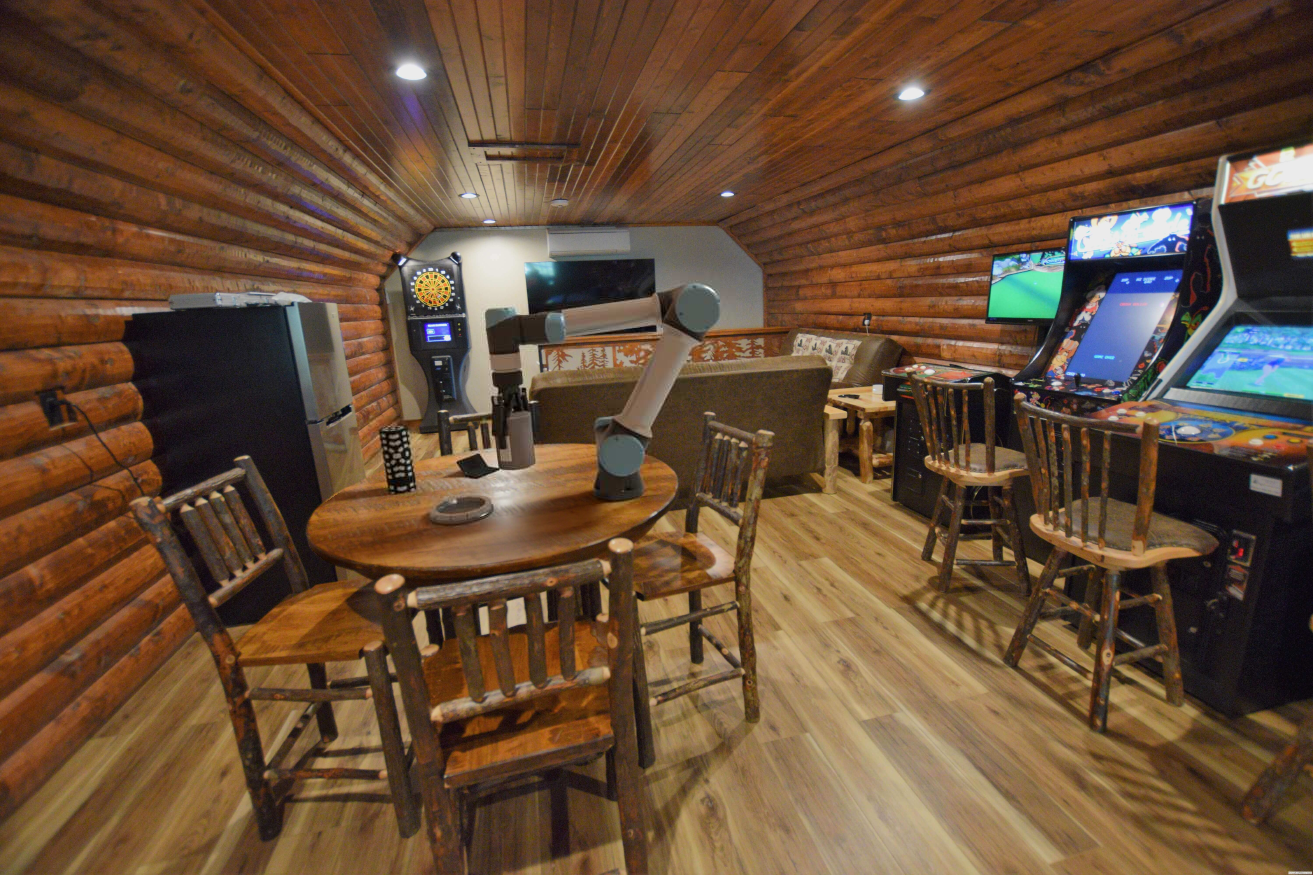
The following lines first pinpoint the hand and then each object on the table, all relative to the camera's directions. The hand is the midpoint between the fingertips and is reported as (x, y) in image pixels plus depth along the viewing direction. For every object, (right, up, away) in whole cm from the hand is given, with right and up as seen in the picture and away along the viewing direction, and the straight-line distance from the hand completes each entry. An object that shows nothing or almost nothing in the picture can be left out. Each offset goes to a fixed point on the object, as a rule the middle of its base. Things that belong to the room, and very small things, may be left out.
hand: (516, 455), depth 152 cm
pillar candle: (0, -3, +1) cm, 3 cm away
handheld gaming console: (-24, -8, +47) cm, 53 cm away
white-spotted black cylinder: (-44, -12, +32) cm, 56 cm away
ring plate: (-17, -16, +9) cm, 26 cm away
